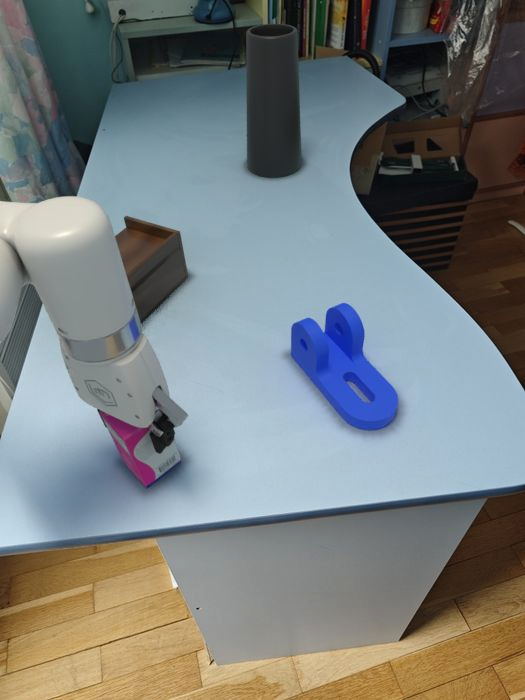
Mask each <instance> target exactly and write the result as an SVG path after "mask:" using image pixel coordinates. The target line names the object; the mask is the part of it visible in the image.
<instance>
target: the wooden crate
mask: <svg viewBox="0 0 525 700" xmlns="http://www.w3.org/2000/svg"><path fill="white" fill-rule="evenodd" d="M123 221H124V225H125V228H123V229H122V230H121V231H119V232H118V233H117V234H116V235H115V238H116V241H117V245H118V248H119V252H120V255H121V258H122V262H123V265H124V269H125V272H126V275H127V279H128V282H129V285H130V289H131V292H132V295H133V298H134V302H135V305H136V309H137V312H138V316H139V319H140V322H141V325H142V324H143V323H144V322H145V321H146V320H147V319H148V318H149V317H150V316H151V315H152V314H153V313H154V312H155V311H156V310H157V309H158V308H159V307H160V306H161V305H163V303H165V301H166V300H167V299H168V298H169V297H170V296H171V295H172V294H173V293H174V292H175V291H176V290H177V289H178V288H179V287H180V286H181V285H182V284H183V283H184V282H185V281H186V280H187V279H188V278H189V272H188V266H187V262H186V261H187V260H186V257H185V250H184V245H183V239H182V234H181V230H176V229H175V228H170V227H167V226H164V225H160V224H156V223H152V222H148V221H146V220H143V219H139V218H136V217H132V216H129V215H125V216H124V217H123Z"/></svg>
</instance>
